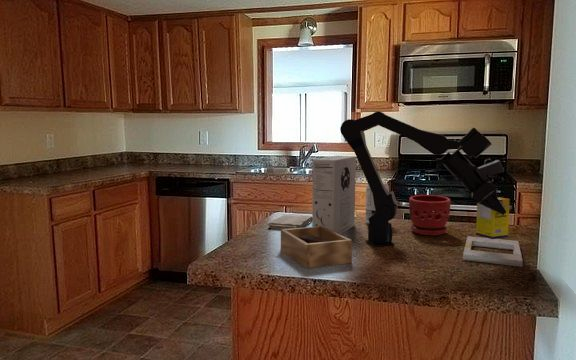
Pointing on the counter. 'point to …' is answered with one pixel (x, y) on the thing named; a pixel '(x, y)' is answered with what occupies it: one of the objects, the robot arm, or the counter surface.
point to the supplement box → (493, 221)
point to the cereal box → (334, 193)
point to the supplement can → (371, 201)
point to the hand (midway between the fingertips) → (502, 210)
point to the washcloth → (289, 222)
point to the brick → (312, 239)
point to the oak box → (316, 247)
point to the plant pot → (429, 214)
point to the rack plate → (491, 256)
